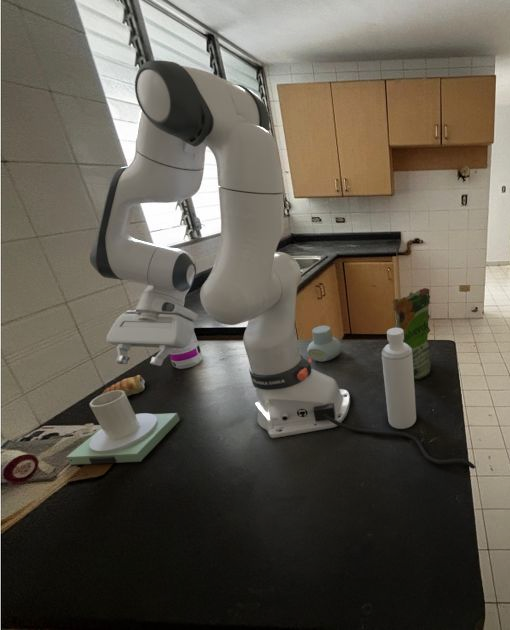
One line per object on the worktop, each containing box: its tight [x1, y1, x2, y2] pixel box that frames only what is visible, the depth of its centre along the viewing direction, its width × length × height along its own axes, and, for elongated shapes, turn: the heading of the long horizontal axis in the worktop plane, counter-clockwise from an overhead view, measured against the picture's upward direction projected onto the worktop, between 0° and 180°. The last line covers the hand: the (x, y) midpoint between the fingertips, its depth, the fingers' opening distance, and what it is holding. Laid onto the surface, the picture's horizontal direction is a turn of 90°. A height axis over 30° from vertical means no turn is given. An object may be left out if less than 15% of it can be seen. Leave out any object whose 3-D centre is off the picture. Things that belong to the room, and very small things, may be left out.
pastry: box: [100, 374, 146, 397], centre depth 94 cm, size 9×7×4 cm
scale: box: [65, 412, 181, 466], centre depth 76 cm, size 15×13×3 cm
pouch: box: [391, 287, 432, 380], centre depth 94 cm, size 11×12×25 cm
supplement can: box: [168, 330, 204, 370], centre depth 106 cm, size 8×8×15 cm
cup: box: [89, 390, 140, 440], centre depth 74 cm, size 6×6×9 cm
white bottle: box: [380, 327, 417, 430], centre depth 75 cm, size 7×7×25 cm
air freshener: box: [306, 325, 343, 362], centre depth 107 cm, size 11×8×10 cm
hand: (138, 364), depth 79 cm, fingers open, 8 cm apart
